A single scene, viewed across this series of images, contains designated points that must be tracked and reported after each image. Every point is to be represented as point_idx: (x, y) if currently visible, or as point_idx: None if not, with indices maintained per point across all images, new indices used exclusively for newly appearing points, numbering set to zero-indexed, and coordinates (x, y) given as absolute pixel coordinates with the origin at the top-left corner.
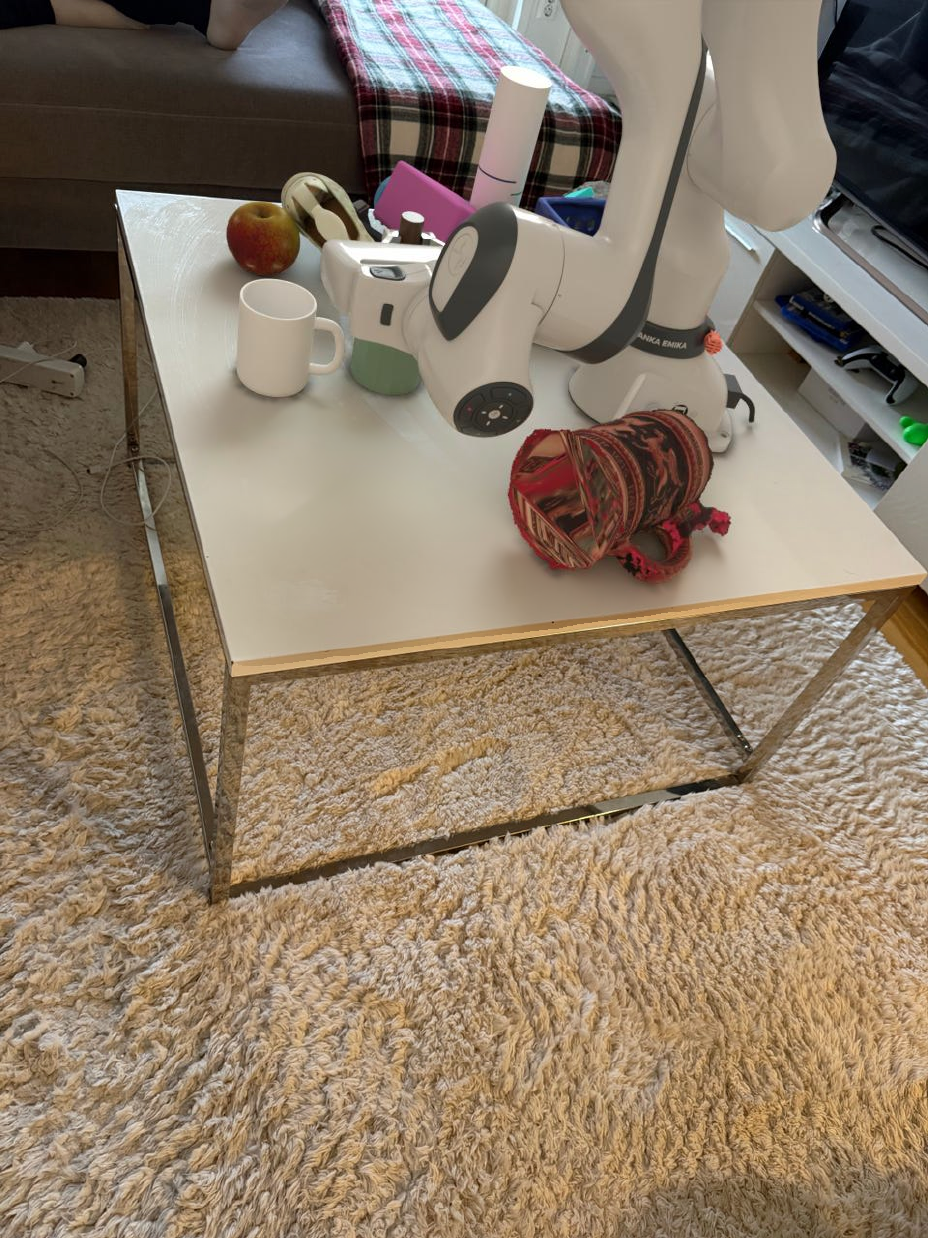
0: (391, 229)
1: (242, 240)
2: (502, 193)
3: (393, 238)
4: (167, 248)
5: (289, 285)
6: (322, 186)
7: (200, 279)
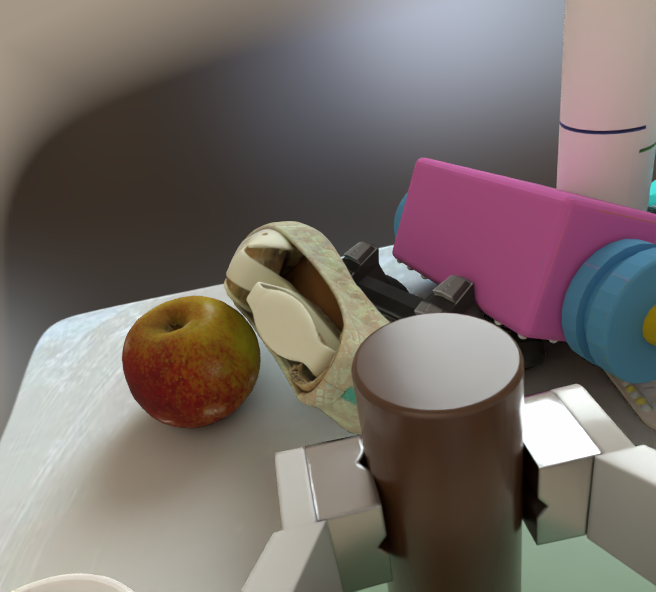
0: (319, 450)
1: (137, 383)
2: (622, 154)
3: (328, 533)
4: (57, 408)
5: (100, 589)
6: (277, 242)
7: (82, 467)
